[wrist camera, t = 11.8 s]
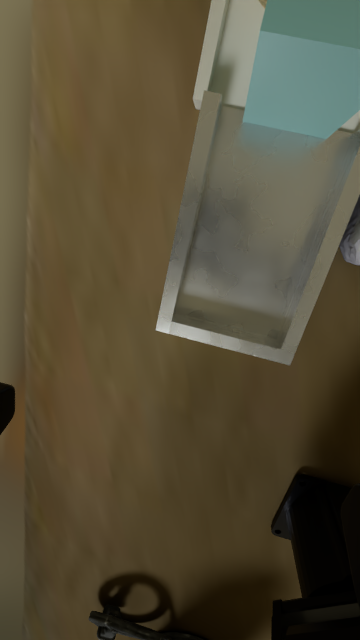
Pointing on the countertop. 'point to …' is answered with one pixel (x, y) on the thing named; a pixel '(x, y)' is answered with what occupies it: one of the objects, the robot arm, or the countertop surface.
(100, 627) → the milk frother
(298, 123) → the mint green brick
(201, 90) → the chip tray
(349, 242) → the stone block
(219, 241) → the channel
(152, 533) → the countertop surface
